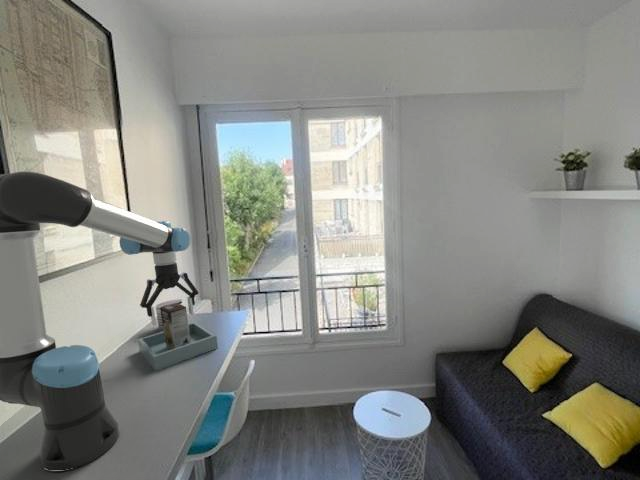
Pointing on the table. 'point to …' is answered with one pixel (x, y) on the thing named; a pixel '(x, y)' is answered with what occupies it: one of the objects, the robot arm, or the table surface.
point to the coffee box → (175, 325)
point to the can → (160, 311)
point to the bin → (164, 357)
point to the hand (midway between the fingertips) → (173, 319)
